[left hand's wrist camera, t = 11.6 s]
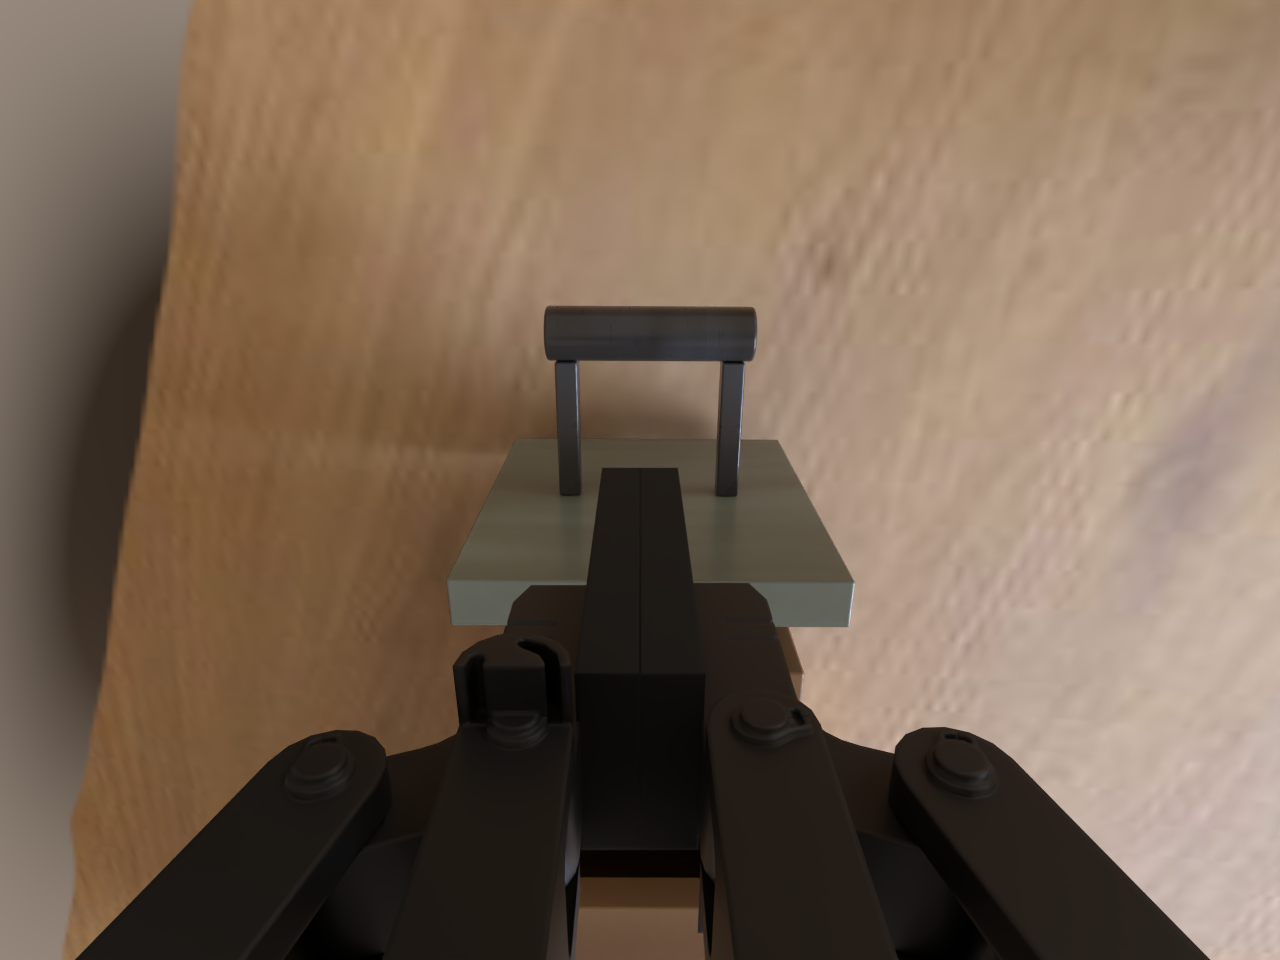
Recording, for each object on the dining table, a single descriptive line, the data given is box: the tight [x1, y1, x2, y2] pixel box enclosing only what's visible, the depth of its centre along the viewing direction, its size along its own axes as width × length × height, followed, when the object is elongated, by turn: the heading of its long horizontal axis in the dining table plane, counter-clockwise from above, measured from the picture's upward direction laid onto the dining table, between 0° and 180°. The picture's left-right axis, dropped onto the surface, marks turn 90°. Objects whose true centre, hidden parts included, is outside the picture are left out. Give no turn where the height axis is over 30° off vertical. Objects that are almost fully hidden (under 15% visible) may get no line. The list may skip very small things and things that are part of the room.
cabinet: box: [575, 877, 705, 960], centre depth 28 cm, size 20×10×12 cm, turn 0°
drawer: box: [446, 306, 855, 878], centre depth 23 cm, size 24×9×10 cm, turn 0°
